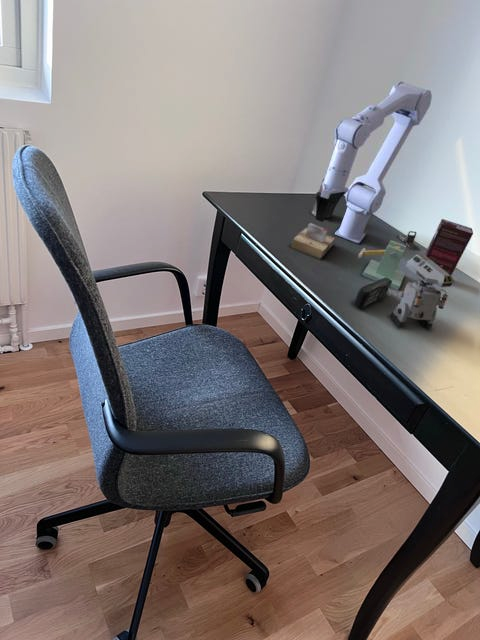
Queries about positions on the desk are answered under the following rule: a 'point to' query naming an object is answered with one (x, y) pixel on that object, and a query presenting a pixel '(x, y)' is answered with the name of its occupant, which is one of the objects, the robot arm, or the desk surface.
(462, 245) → the supplement box
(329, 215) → the box
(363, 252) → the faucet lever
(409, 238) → the strap clip
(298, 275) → the desk surface
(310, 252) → the panel
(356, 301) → the dark grey piece
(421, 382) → the desk surface
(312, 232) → the grey rectangular block
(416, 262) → the figurine
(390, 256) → the green lever mechanism
